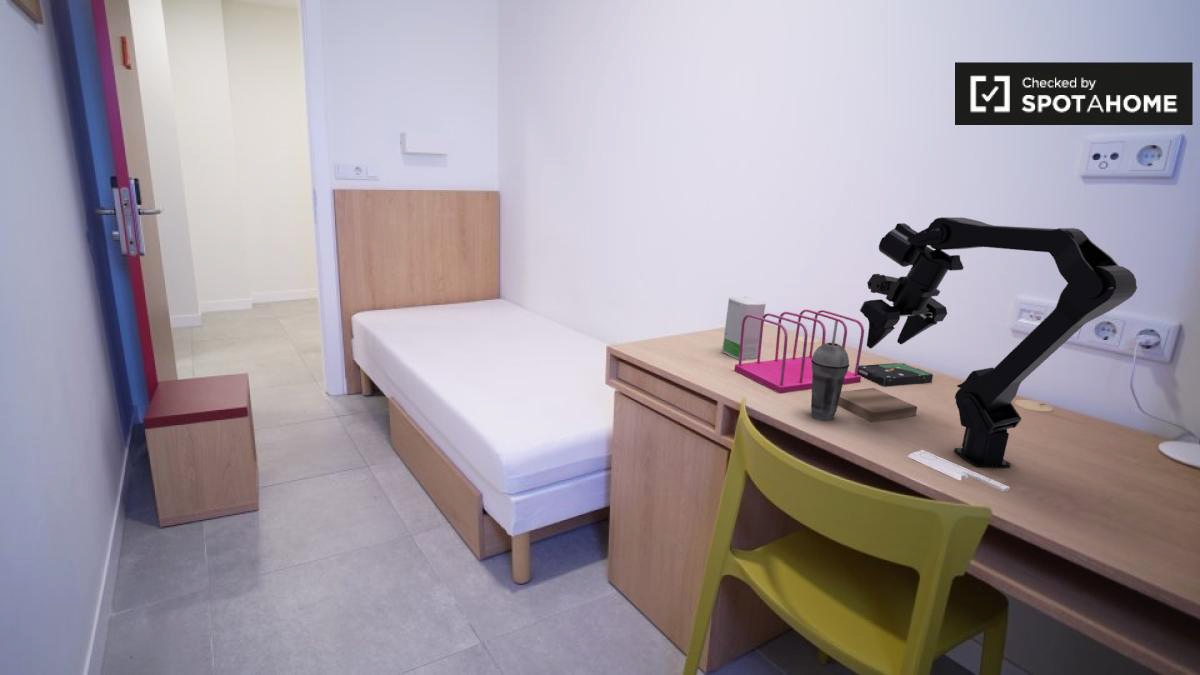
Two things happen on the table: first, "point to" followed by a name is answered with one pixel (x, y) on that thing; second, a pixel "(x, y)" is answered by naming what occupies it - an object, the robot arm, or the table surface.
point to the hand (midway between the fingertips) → (884, 345)
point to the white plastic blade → (953, 469)
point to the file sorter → (793, 370)
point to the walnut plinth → (875, 404)
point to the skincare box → (751, 328)
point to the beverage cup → (828, 378)
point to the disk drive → (894, 374)
